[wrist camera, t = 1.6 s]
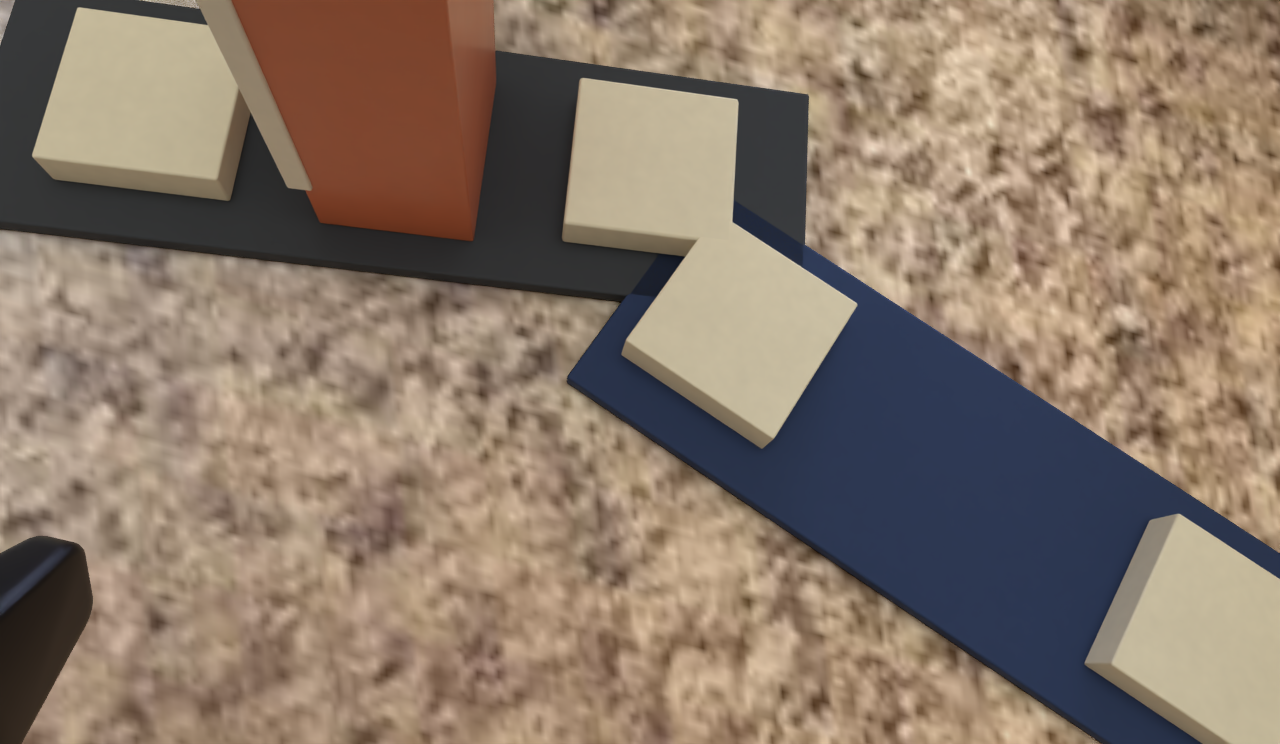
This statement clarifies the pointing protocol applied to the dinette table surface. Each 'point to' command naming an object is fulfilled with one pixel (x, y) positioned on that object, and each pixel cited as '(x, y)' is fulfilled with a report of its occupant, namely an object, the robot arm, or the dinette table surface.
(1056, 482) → the blue tile board
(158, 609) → the dinette table surface
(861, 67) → the dinette table surface
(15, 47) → the dark grey base plate
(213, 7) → the upright orange brick
